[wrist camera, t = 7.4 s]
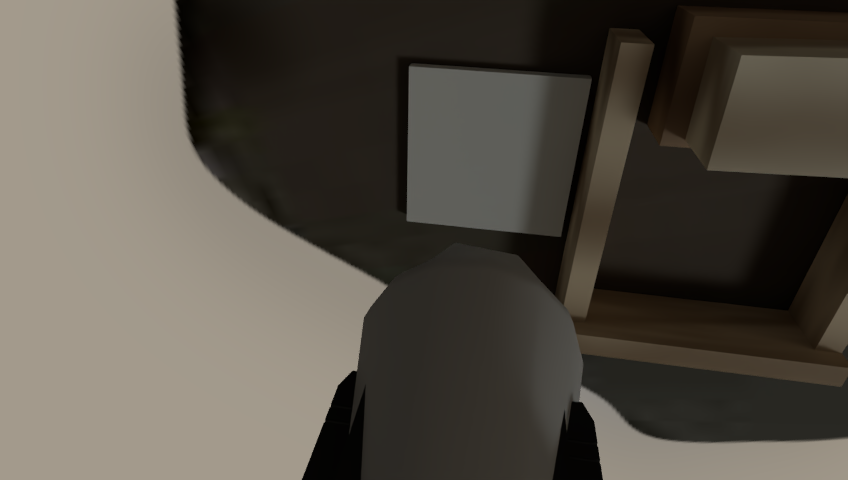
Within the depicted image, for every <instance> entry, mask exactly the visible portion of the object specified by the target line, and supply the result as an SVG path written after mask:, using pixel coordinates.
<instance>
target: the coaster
mask: <svg viewBox="0 0 848 480" xmlns="http://www.w3.org/2000/svg"><path fill="white" fill-rule="evenodd" d="M591 81H592V78H591V76H590V75H576V74H562V73H547V72H533V71H518V70H504V69H489V68H475V67H460V66H446V65H431V64H417V63H411V64H410V66H409V102H408V170H407V221H411V222H421V223H430V224H440V225H450V226H459V227H469V228H479V229H488V230H498V231H508V232H517V233H527V234H537V235H546V236H556V237H561V233H562V228H563V223H564V218H565V213H566V208H567V203H568V198H569V193H570V188H571V183H572V178H573V172H574V167H575V162H576V157H577V152H578V147H579V142H580V137H581V132H582V127H583V122H584V117H585V112H586V107H587V102H588V96H589V91H590V86H591Z"/></svg>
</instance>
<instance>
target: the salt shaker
mask: <svg viewBox="0 0 848 480" xmlns="http://www.w3.org/2000/svg"><path fill="white" fill-rule="evenodd" d="M582 370H583V361H582V356H581V352H580V348H579V344H578V340H577V336H576V332H575V328H574V324H573V321H572V319H571V316H570V313H569V311H568V310H567V309H566V307H565V306H564V305H563V304H562V303H561V302H560V301H559V300H558V299H557V298H556V297H555V296H554V295H553V294H552V292H551V291H550V290H549V289H548V288H547V287H546V286H545V285H544V284H543V283H542V282H541V281H540V280H539V279H538V277H537V276H536V275H535V274H534V273H533V272H532V271H531V270H530V268H529V267H528V266H527V265H526V264H525V263H524V262H523V260H522V259H521V258H520V257H519V256H518V255H514V254H509V253H504V252H499V251H494V250H489V249H484V248H479V247H474V246H469V245H464V244H459V243H454V244H453V245H451V246H450V247H448V248H447V249H445V250H444V251H443V252H441V253H440V254H438V255H437V256H436V257H434V258H433V259H431V260H429V261H427V262H425V263H423V264H420V265H418V266H416V267H414V268H412V269H410V270H408V271H405V272H403V273H401V274H399V275H397V276H396V277H395V278H394V279H393V281H392V282H391V283H390V284H389V285H388V287H387V288H386V289H385V290H384V291H383V293H382V294H381V295H380V297H378V299H377V300H376V301H375V303H374V304H373V305H372V306H371V308H370V309H369V311H368V312H367V314H366V316H365V317H364V322H363V330H362V338H361V345H360V353H359V361H358V369H357V376H356V384H355V392H354V400H353V407H352V415H351V423H350V430H351V427H352V424H353V421H354V418H355V415H356V412H357V409H358V406H359V403H360V400H361V397H362V394H363V391H364V387H365V384H366V389H365V409H364V429H363V449H362V468H361V480H553V474H554V468H555V462H556V456H557V451H558V445H559V439H560V433H561V427H562V421H563V415H564V409H565V419H566V430H567V428H568V422H569V416H570V409H571V403H572V401H575V402H579V397H580V388H581V379H582ZM350 430H349V433H350Z"/></svg>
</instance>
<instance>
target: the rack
mask: <svg viewBox="0 0 848 480" xmlns="http://www.w3.org/2000/svg"><path fill="white" fill-rule="evenodd" d="M654 45H655V44H654V43H653V42H652V41H651V40H649V39H648V38H647V37H646V36H645V35H644V34H643V33H642V32H641V31H640V30H639V29H621V28H609V33H608V38H607V43H606V48H605V53H604V57H603V62H602V67H601V72H600V77H599V82H598V87H597V92H596V97H595V101H594V106H593V111H592V116H591V121H590V126H589V131H588V136H587V141H586V145H585V150H584V155H583V160H582V165H581V170H580V175H579V180H578V185H577V189H576V194H575V199H574V204H573V209H572V214H571V219H570V224H569V229H568V233H567V238H566V243H565V248H564V253H563V258H562V263H561V268H560V273H559V277H558V282H557V287H556V292H555V297H556V298H557V299H558V300H559V301H560V302H561V303H562V304H563V305H564V306H565V307H566V309H567V310H568V311H569V313H570V316H571V319H572V321H573V324H574V328H575V332H576V336H577V340H578V344H579V348H580V352H581V354H589V355H596V356H604V357H612V358H620V359H628V360H636V361H643V362H651V363H659V364H667V365H675V366H683V367H690V368H698V369H706V370H714V371H722V372H730V373H737V374H745V375H753V376H761V377H769V378H777V379H784V380H792V381H800V382H808V383H816V384H824V385H831V386H839V387H841V386H842V385H843V383H844V381H845V380H846V378H847V377H848V361H847V360H846V359H845V357H844V356H843V355H842V352H843V350H844V349H845V347H846V346H847V344H848V194H847V196H846V198H845V200H844V202H843V204H842V206H841V208H840V210H839V212H838V214H837V216H836V218H835V220H834V222H833V223H832V225H831V227H830V229H829V231H828V233H827V235H826V237H825V239H824V241H823V243H822V245H821V247H820V249H819V251H818V253H817V255H816V257H815V259H814V261H813V263H812V265H811V267H810V268H809V270H808V272H807V274H806V276H805V278H804V280H803V282H802V284H801V286H800V288H799V290H798V292H797V294H796V296H795V298H794V300H793V302H792V304H791V306H790V308H789V310H788V311H787V310H778V309H769V308H761V307H752V306H743V305H734V304H726V303H717V302H708V301H699V300H690V299H682V298H673V297H664V296H655V295H646V294H638V293H629V292H620V291H611V290H602V289H594V284H595V280H596V276H597V272H598V268H599V264H600V260H601V256H602V252H603V248H604V244H605V240H606V236H607V232H608V228H609V224H610V220H611V216H612V212H613V208H614V205H615V201H616V197H617V193H618V189H619V185H620V181H621V177H622V173H623V169H624V165H625V161H626V157H627V153H628V149H629V145H630V141H631V137H632V133H633V129H634V125H635V121H636V117H637V113H638V109H639V105H640V101H641V97H642V93H643V89H644V85H645V81H646V77H647V73H648V69H649V65H650V61H651V57H652V53H653V49H654Z"/></svg>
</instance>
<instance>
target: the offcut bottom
mask: <svg viewBox="0 0 848 480" xmlns="http://www.w3.org/2000/svg"><path fill="white" fill-rule="evenodd" d="M713 37H741V38H780V39H820V40H848V13H846V12H822V11H799V10H775V9H751V8H728V7H704V6H680V5H677V8H676V12H675V16H674V20H673V24H672V28H671V32H670V36H669V40H668V44H667V48H666V52H665V56H664V60H663V64H662V68H661V72H660V76H659V80H658V83H657V87H656V91H655V95H654V99H653V103H652V107H651V111H650V115H649V119H648V123H647V125H648V127H649V129H650V130H651V132H652V134H653V135H654V137H655V139H656V140H657V142H658V144H659V145H660V146H671V147H685V148H691V147H690V146H689V145H688V143H687V142H686V140H685V139H686V135H687V132H688V128H689V124H690V121H691V117H692V113H693V110H694V106H695V102H696V98H697V95H698V91H699V87H700V84H701V80H702V76H703V73H704V69H705V65H706V61H707V58H708V54H709V50H710V47H711V43H712V39H713Z"/></svg>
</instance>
